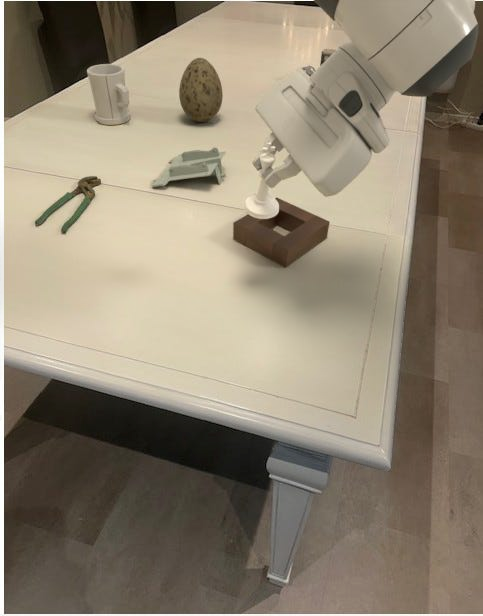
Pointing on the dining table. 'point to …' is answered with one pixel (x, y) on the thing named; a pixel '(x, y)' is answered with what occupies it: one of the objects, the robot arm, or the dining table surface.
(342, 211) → the dining table surface
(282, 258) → the socket block
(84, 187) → the pliers
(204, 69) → the decorative egg
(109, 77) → the cup
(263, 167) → the chess piece
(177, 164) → the metal bracket
